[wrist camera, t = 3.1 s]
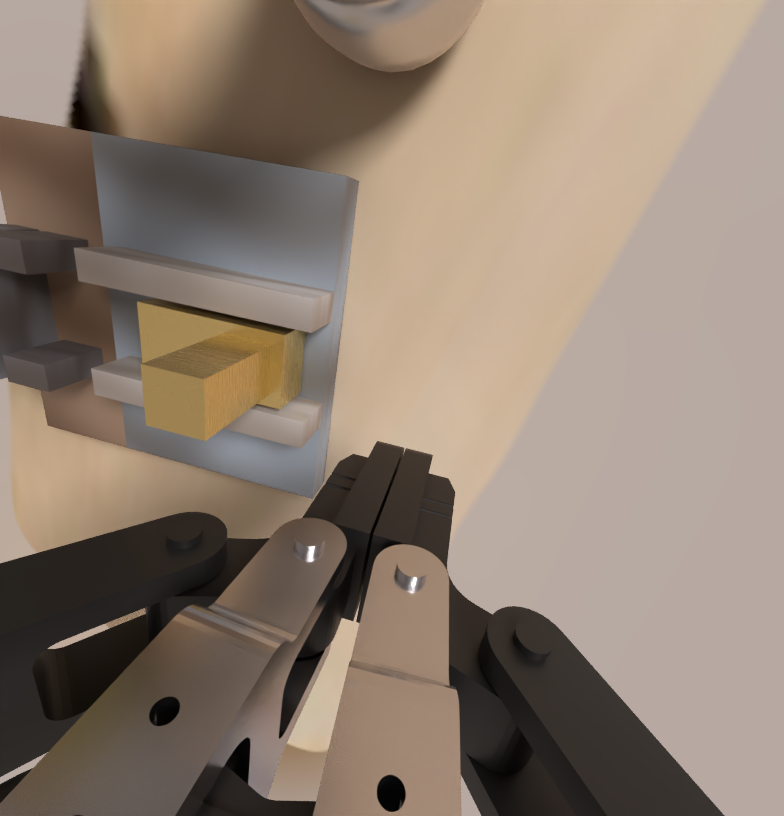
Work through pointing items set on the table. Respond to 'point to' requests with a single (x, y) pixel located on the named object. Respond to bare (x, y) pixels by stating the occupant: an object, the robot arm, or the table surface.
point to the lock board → (168, 284)
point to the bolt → (212, 366)
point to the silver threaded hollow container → (390, 29)
